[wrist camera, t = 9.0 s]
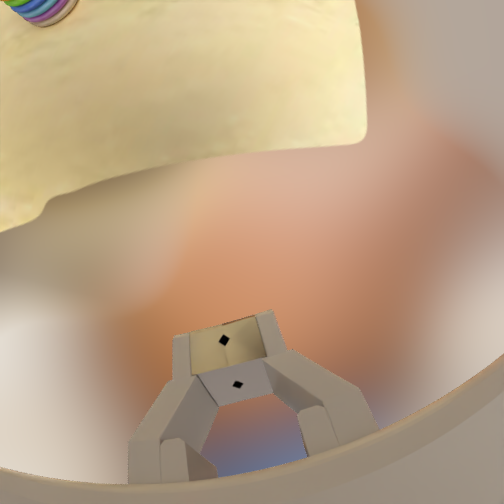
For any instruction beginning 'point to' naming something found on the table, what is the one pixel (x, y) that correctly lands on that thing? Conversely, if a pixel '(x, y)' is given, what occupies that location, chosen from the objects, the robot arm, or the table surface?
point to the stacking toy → (41, 10)
